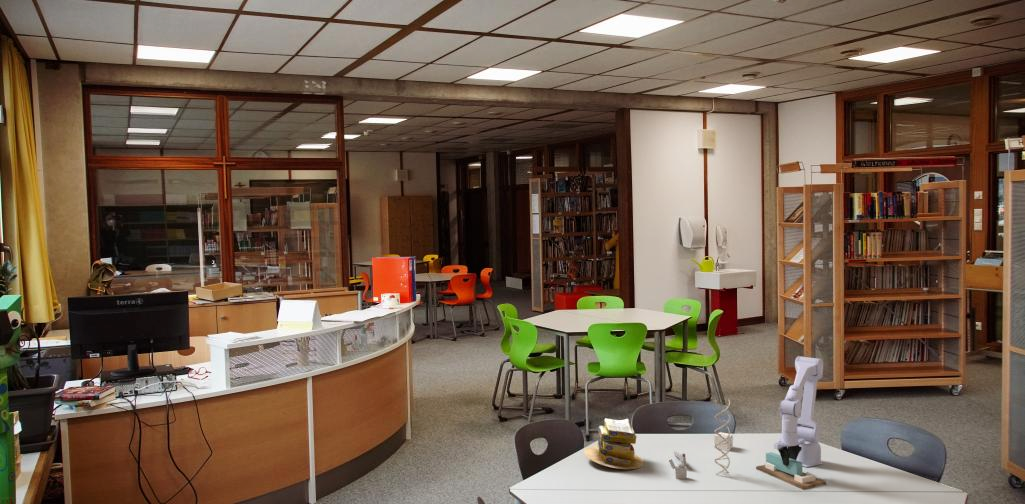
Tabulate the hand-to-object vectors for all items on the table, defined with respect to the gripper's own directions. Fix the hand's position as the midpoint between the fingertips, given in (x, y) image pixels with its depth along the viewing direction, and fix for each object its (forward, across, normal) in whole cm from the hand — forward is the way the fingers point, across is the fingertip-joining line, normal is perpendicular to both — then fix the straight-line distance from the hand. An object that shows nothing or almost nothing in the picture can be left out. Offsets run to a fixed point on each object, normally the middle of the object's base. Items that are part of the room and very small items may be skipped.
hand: (789, 464), depth 278 cm
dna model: (+5, +22, -14) cm, 26 cm away
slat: (+3, 0, -3) cm, 4 cm away
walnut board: (+5, 0, 0) cm, 5 cm away
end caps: (+5, 0, 0) cm, 5 cm away
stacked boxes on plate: (+5, +53, -44) cm, 69 cm away
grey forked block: (+5, +41, -18) cm, 45 cm away
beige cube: (+5, 0, -38) cm, 38 cm away
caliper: (+5, +28, -33) cm, 43 cm away
